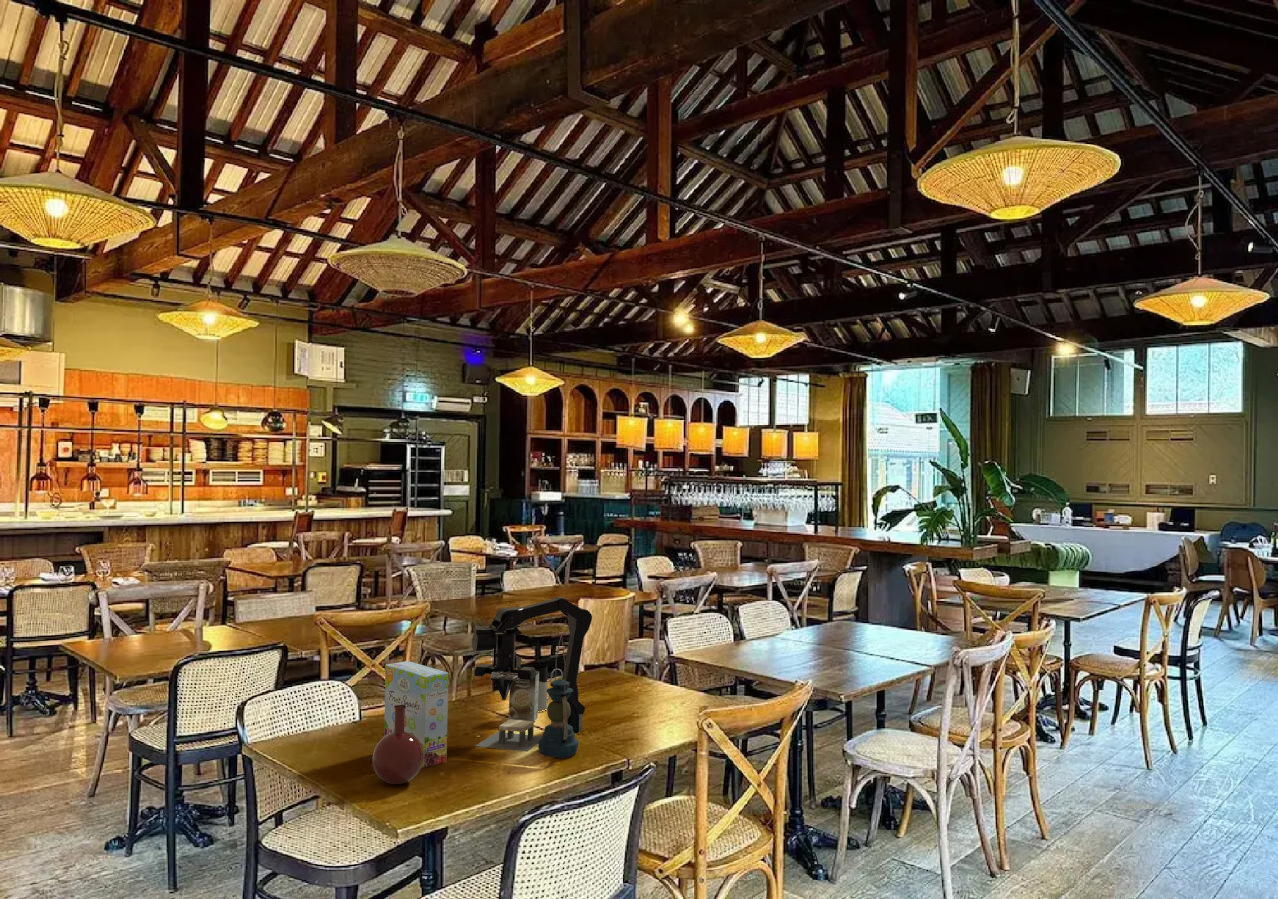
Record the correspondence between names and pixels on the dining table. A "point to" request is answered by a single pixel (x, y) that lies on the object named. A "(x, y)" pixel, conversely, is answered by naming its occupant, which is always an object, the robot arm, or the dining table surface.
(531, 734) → the footstool
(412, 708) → the snack box
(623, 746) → the dining table surface
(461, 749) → the dining table surface
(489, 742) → the rubber mat
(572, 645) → the robot arm
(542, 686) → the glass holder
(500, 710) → the dining table surface
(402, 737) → the round-bottom flask
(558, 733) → the lantern
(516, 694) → the coffee box
